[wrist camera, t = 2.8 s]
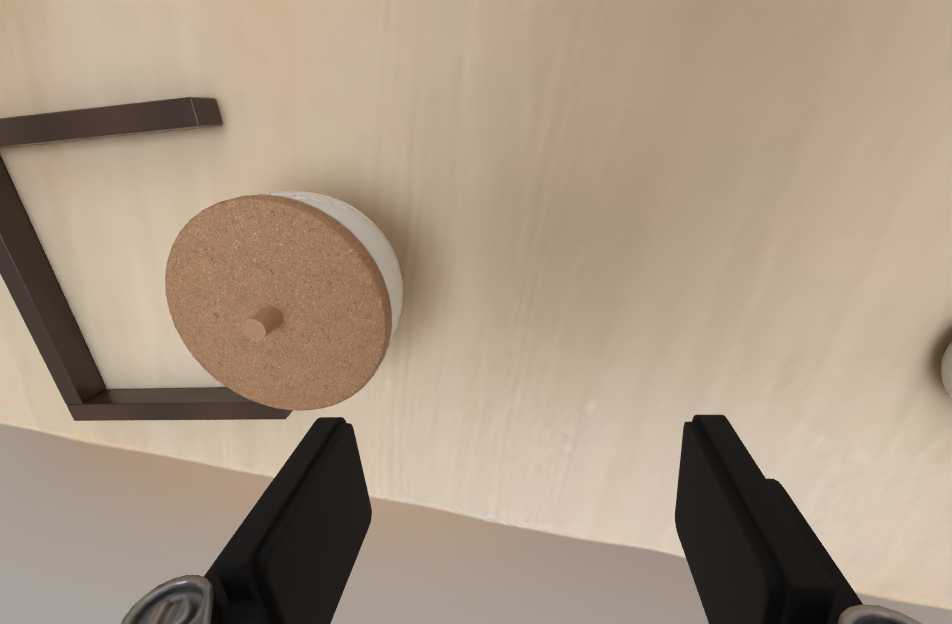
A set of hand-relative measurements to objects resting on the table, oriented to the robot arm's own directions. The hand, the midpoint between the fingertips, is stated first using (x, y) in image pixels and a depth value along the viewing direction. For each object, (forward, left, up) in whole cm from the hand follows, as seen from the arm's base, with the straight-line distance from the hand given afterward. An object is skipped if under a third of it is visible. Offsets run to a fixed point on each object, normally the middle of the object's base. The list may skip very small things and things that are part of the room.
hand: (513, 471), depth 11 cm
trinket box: (+11, 0, -18) cm, 21 cm away
